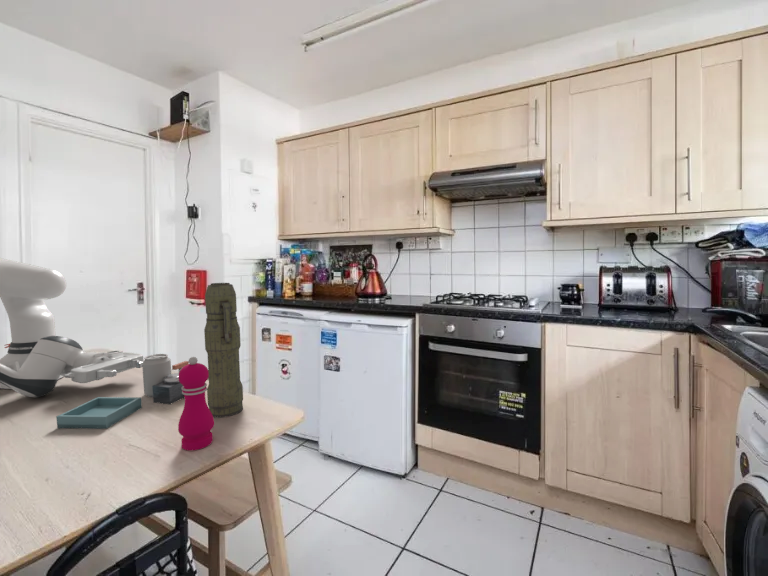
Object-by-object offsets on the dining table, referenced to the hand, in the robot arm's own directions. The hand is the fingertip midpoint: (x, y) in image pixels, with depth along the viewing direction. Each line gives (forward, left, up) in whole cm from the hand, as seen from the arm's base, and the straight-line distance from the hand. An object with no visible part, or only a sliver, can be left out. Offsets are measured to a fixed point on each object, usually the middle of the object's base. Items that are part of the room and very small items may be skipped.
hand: (128, 369), depth 117 cm
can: (+11, -2, -7) cm, 13 cm away
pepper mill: (+40, -32, -7) cm, 52 cm away
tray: (+7, -19, -7) cm, 22 cm away
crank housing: (+18, -4, -7) cm, 20 cm away
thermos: (+38, -14, -7) cm, 41 cm away
